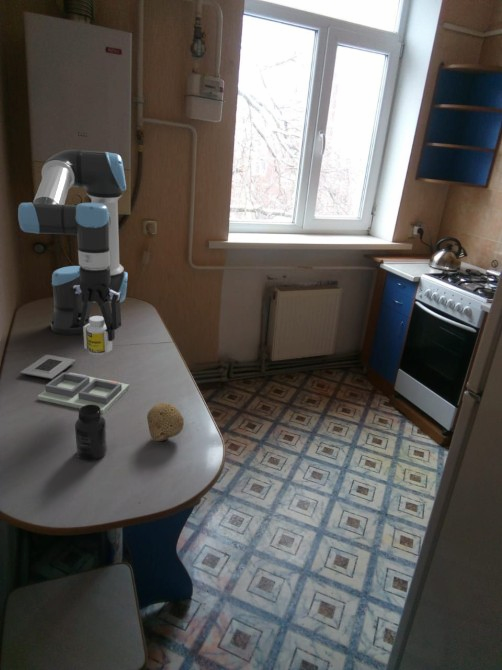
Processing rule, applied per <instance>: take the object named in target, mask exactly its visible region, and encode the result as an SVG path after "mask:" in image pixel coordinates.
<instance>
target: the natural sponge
mask: <svg viewBox="0 0 502 670" xmlns="http://www.w3.org/2000/svg"><path fill="white" fill-rule="evenodd" d="M146 417H147V418H146V419H147V424H148V429H149V430H148V431H149V435H150V437H151V439H152V440H153V441H157V442H159V441H160V442H163V441H165V440H168V439H169V438H173V437H177V435H179V434H180V433H181V432H182V431H183V429H184V423H185V422H184V417H183V416H182V414H181V412H180V411H179V409H178V408H177V407H176V406H175V405H173V404H171V403H168V402H161V403H157V404H156V405H153V407H151V408H150V409H149V411H148V412H147V415H146Z"/></svg>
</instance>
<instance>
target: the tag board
mask: <svg viewBox="0 0 502 670" xmlns="http://www.w3.org/2000/svg"><path fill="white" fill-rule="evenodd" d="M129 389H130V384H128V383H124V382H119V381H115V380H111V379H109V380H108V379H104V378H98V377H94V376H88V375H87V374H81V373H74V372H65V371H64V372H63V371H62V372H61V373H60V374H58V375H57V376H56V377H55V378H53V379H51V381H49V382H48V383H47V384H45V390H44V391H42V392H41V393H40V394H38V395H37V400H39V401H44V402H47V403H52V404H53V403H54V404H57V405H62V406H66V407H70V408H73V409H74V408H75V409H78V410H79V409H80V408H81V407H83V406H85V405H97V406H99V407H100V409H101V415H102V414H103V415H104V414H105V413H106V412H107V411H108V410H109V409H110V408H111V407H112V406H113V405H114V404H115V403H116V402H117V401H118V400H119V399H120V398H121V397H122V396H123V395H124V394H125V393H126V392H127V391H128V390H129Z"/></svg>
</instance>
